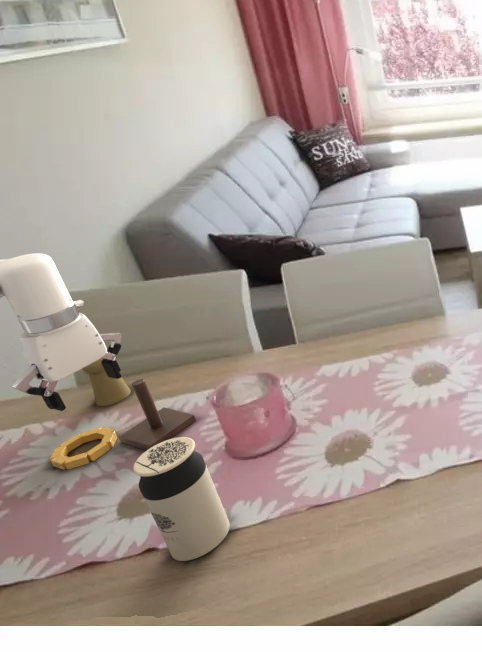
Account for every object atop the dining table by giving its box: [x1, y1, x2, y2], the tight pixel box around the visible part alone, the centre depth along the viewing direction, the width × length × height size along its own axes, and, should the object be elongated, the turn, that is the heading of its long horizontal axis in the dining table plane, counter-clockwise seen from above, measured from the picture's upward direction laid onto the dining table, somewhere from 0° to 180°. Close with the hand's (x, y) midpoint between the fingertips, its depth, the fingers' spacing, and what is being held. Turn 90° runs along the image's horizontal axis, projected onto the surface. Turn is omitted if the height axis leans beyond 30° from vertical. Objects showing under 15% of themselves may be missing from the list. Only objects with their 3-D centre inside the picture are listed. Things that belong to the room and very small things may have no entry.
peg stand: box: [118, 378, 197, 451], centre depth 109 cm, size 9×9×12 cm
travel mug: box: [132, 436, 231, 562], centre depth 84 cm, size 8×8×18 cm
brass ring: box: [49, 426, 118, 471], centre depth 106 cm, size 9×9×2 cm
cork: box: [81, 358, 132, 407], centre depth 120 cm, size 6×6×11 cm
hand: (88, 392), depth 106 cm, fingers open, 9 cm apart
